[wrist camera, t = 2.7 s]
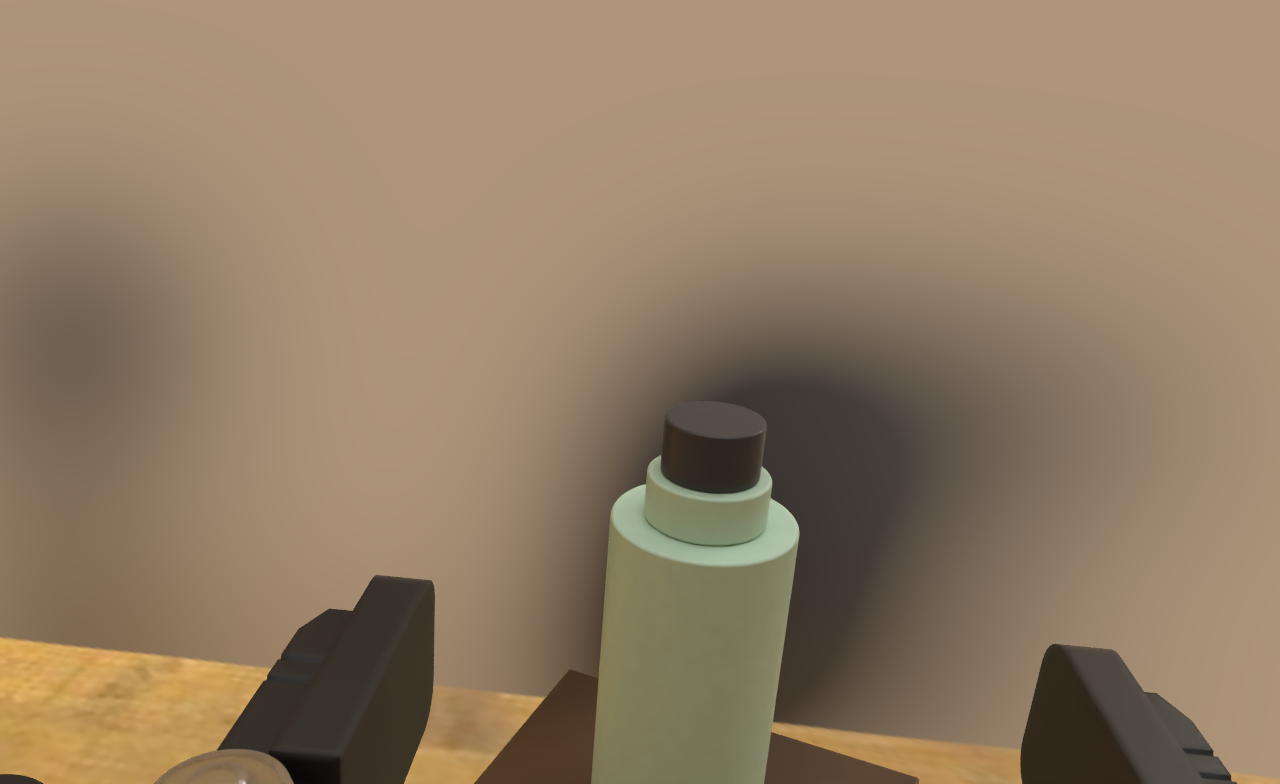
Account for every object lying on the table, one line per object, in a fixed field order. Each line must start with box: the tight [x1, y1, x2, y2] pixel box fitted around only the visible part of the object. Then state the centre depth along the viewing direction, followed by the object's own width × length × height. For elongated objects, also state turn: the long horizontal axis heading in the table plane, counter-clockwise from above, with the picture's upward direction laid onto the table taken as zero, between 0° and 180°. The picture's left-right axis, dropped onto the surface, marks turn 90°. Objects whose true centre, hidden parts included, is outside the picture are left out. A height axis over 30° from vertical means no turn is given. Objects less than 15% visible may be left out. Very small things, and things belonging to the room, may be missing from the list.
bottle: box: [591, 401, 799, 784], centre depth 26 cm, size 5×5×13 cm
